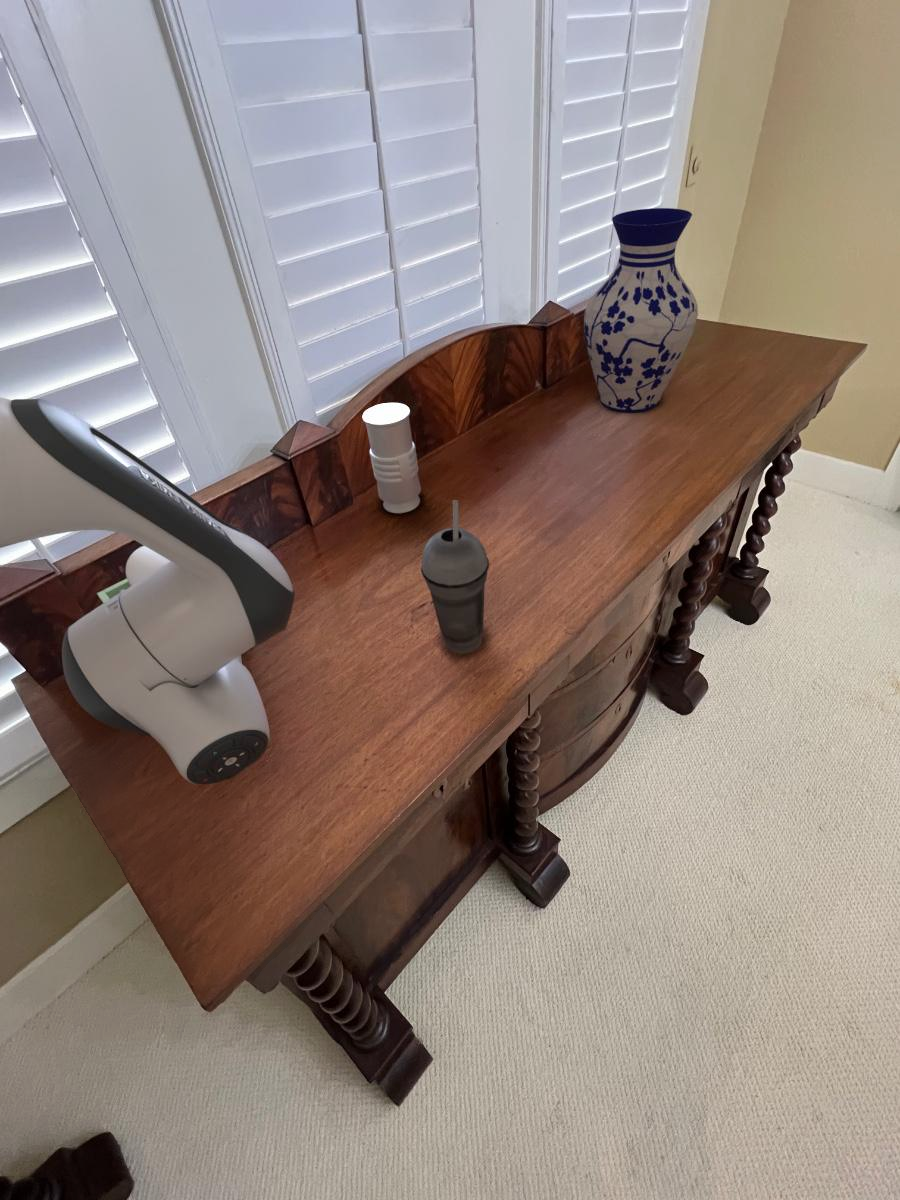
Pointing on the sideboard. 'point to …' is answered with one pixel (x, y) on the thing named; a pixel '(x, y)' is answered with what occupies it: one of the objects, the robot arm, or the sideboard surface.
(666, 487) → the sideboard surface
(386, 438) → the white ribbed cylinder
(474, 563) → the beverage cup
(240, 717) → the robot arm
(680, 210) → the vase
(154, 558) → the lightbulb
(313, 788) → the sideboard surface
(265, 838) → the sideboard surface
